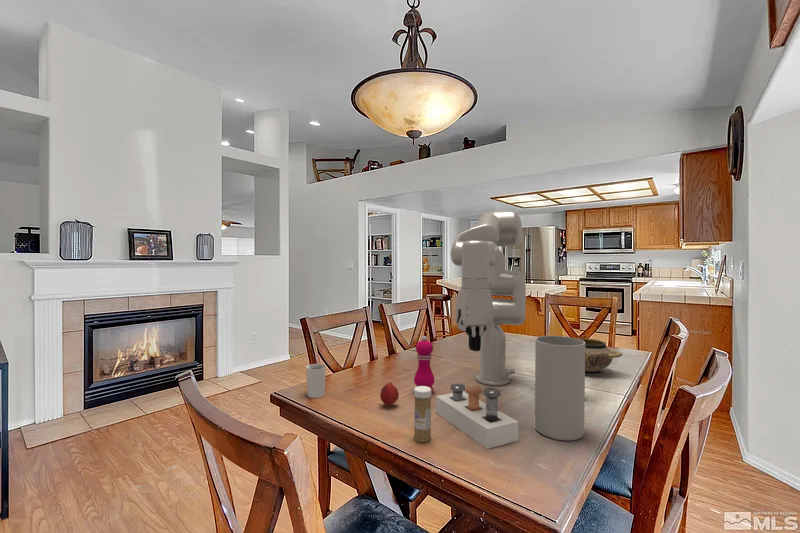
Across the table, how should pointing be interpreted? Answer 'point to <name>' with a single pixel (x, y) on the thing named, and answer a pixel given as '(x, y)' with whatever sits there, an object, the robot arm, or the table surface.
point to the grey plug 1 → (457, 391)
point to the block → (477, 421)
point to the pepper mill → (424, 364)
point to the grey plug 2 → (491, 404)
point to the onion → (389, 394)
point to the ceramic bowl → (597, 356)
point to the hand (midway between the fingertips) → (474, 350)
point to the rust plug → (473, 397)
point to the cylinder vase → (560, 387)
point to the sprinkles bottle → (422, 414)
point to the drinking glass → (316, 380)
